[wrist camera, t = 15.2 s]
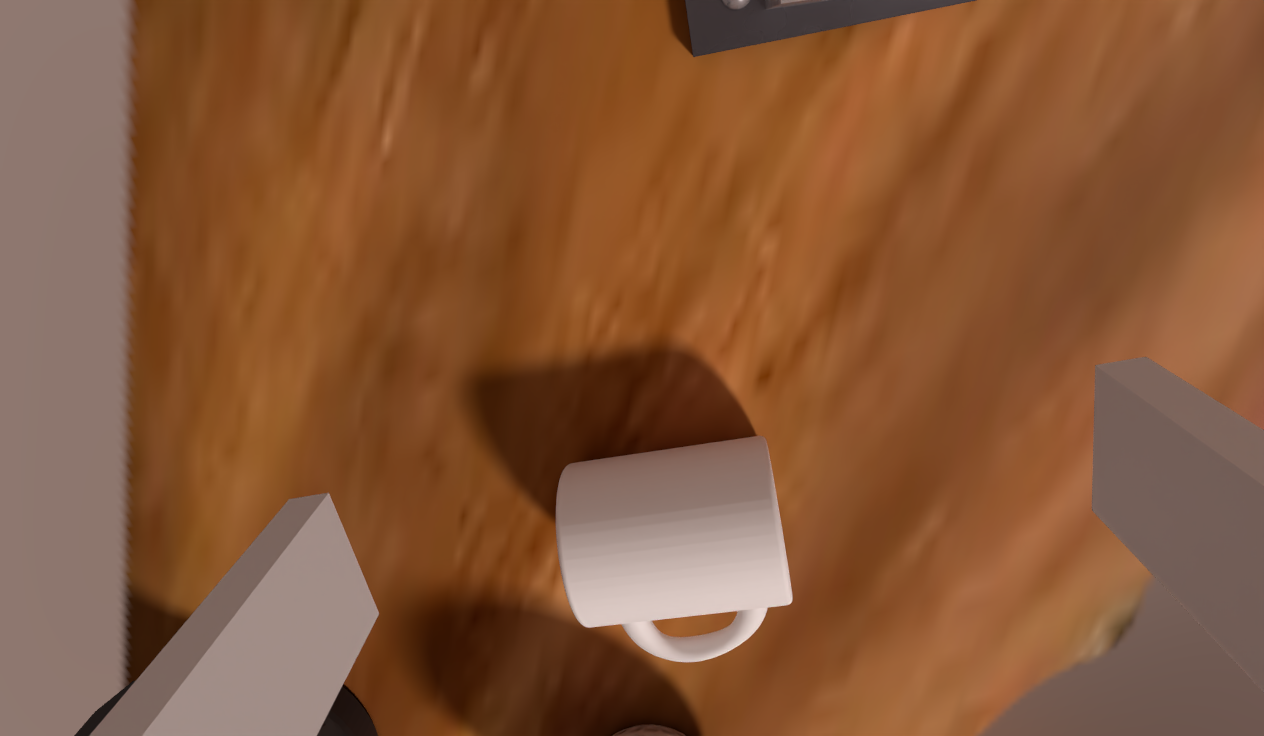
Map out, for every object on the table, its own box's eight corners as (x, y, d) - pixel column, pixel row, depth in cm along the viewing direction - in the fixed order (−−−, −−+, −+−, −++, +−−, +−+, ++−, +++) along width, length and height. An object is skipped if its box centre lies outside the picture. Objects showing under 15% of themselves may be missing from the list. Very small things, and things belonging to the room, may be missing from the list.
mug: (570, 435, 40) (543, 525, 32) (760, 406, 38) (777, 493, 31) (618, 613, 44) (604, 726, 37) (789, 593, 43) (809, 707, 35)
